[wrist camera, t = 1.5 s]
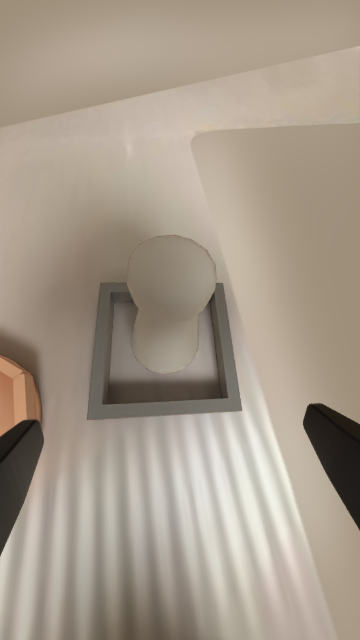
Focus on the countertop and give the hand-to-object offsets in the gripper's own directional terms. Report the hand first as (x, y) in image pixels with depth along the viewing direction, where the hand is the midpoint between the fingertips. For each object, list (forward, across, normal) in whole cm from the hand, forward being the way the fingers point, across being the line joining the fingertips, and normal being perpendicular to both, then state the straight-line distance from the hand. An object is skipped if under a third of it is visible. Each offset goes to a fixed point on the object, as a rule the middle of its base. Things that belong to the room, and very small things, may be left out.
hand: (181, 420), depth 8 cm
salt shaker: (+14, 0, +5) cm, 14 cm away
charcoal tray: (+14, 0, +5) cm, 14 cm away
